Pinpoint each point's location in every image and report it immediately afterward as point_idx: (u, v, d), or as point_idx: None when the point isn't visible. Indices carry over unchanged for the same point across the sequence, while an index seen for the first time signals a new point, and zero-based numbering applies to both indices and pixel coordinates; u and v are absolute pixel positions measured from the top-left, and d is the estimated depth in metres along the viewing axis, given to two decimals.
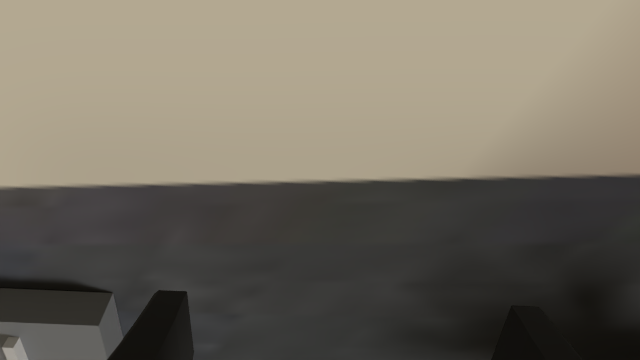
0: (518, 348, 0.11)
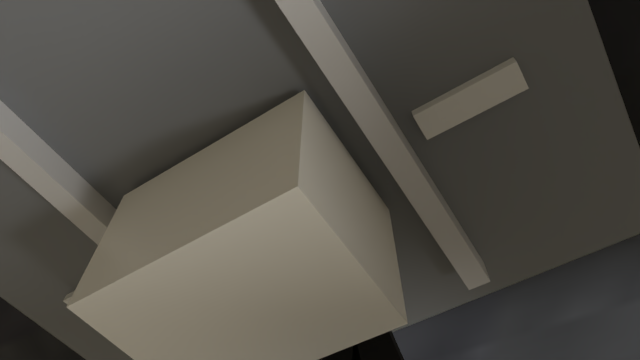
0: None
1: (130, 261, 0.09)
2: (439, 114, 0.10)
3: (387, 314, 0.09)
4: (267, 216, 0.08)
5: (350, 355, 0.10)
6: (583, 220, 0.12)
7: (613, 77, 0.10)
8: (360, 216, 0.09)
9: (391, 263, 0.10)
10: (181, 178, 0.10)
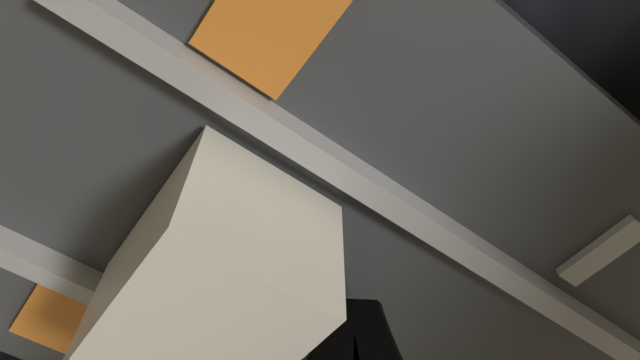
0: None
1: (87, 328, 0.09)
2: (580, 268, 0.12)
3: (322, 316, 0.09)
4: (160, 259, 0.08)
5: (349, 355, 0.10)
6: None
7: None
8: (281, 228, 0.09)
9: (330, 263, 0.10)
10: (132, 238, 0.11)
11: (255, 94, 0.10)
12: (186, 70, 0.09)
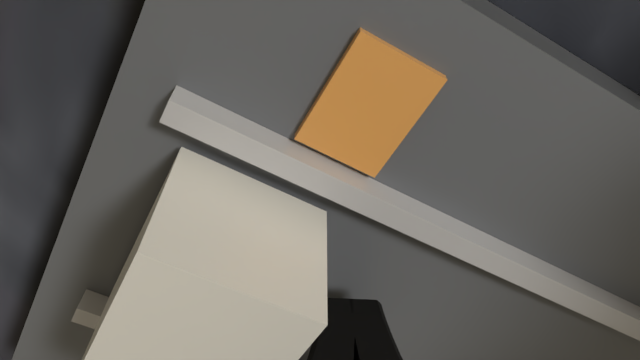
0: None
1: (85, 354, 0.10)
2: None
3: (303, 323, 0.09)
4: (135, 284, 0.08)
5: (349, 355, 0.10)
6: None
7: None
8: (258, 240, 0.10)
9: (311, 269, 0.10)
10: (126, 262, 0.11)
11: (354, 173, 0.11)
12: (296, 164, 0.10)
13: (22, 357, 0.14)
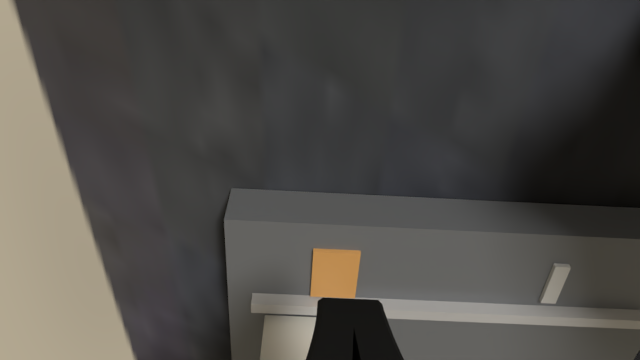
0: None
1: None
2: (549, 295, 0.22)
3: None
4: None
5: (350, 355, 0.10)
6: None
7: (600, 235, 0.20)
8: (308, 350, 0.21)
9: None
10: None
11: None
12: (314, 308, 0.22)
13: None
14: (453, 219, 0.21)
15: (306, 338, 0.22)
